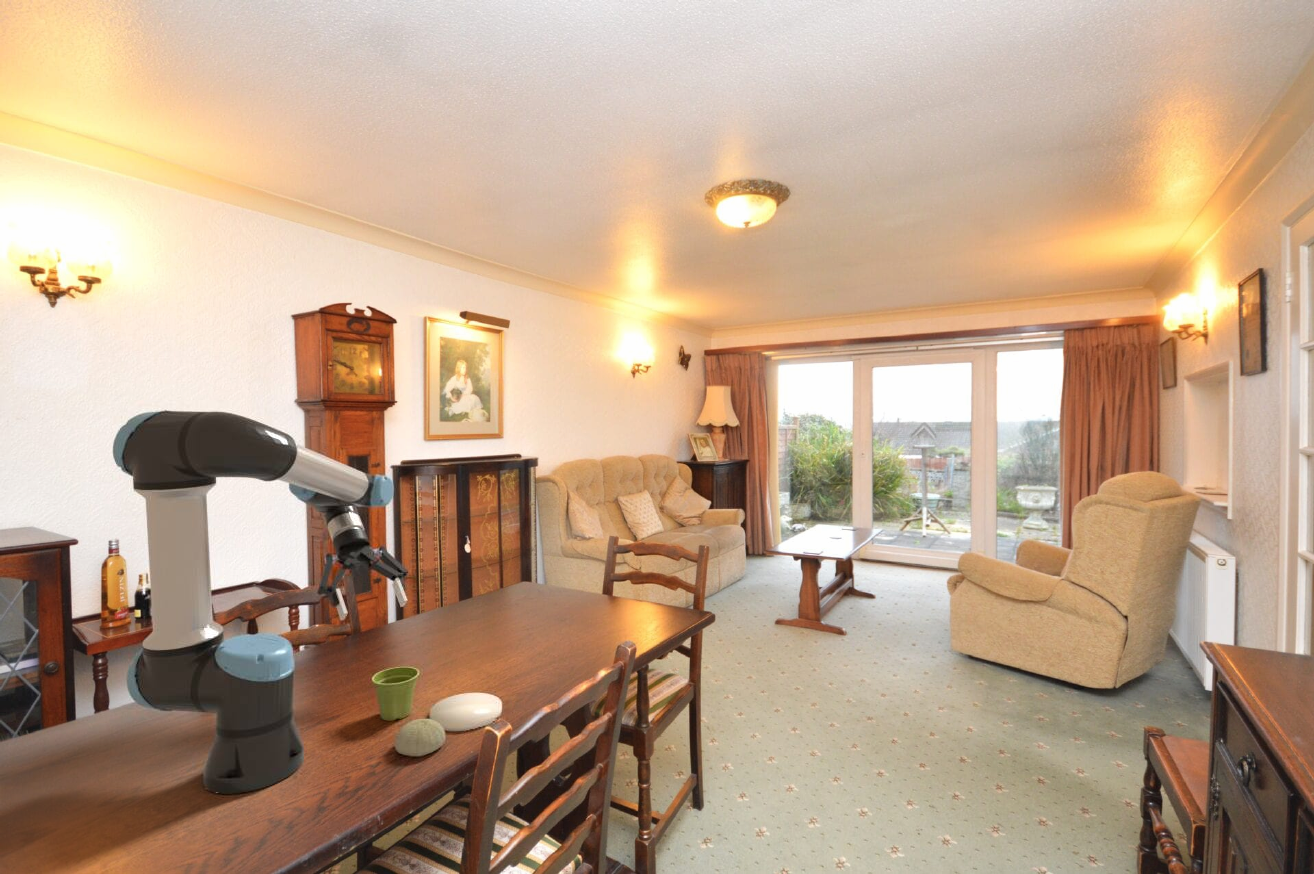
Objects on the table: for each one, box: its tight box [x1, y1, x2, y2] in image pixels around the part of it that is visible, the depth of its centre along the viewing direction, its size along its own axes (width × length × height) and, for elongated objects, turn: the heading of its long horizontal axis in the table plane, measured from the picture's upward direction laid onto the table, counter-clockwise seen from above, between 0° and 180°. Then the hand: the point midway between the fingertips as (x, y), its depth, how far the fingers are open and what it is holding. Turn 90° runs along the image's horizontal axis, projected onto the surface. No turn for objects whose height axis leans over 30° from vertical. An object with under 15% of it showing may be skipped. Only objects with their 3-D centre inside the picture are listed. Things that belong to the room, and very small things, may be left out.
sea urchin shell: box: [394, 718, 447, 758], centre depth 119 cm, size 9×8×8 cm
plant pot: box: [371, 666, 420, 722], centre depth 132 cm, size 9×9×9 cm
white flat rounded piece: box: [429, 692, 503, 732], centre depth 132 cm, size 15×15×2 cm
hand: (375, 610), depth 140 cm, fingers open, 13 cm apart
